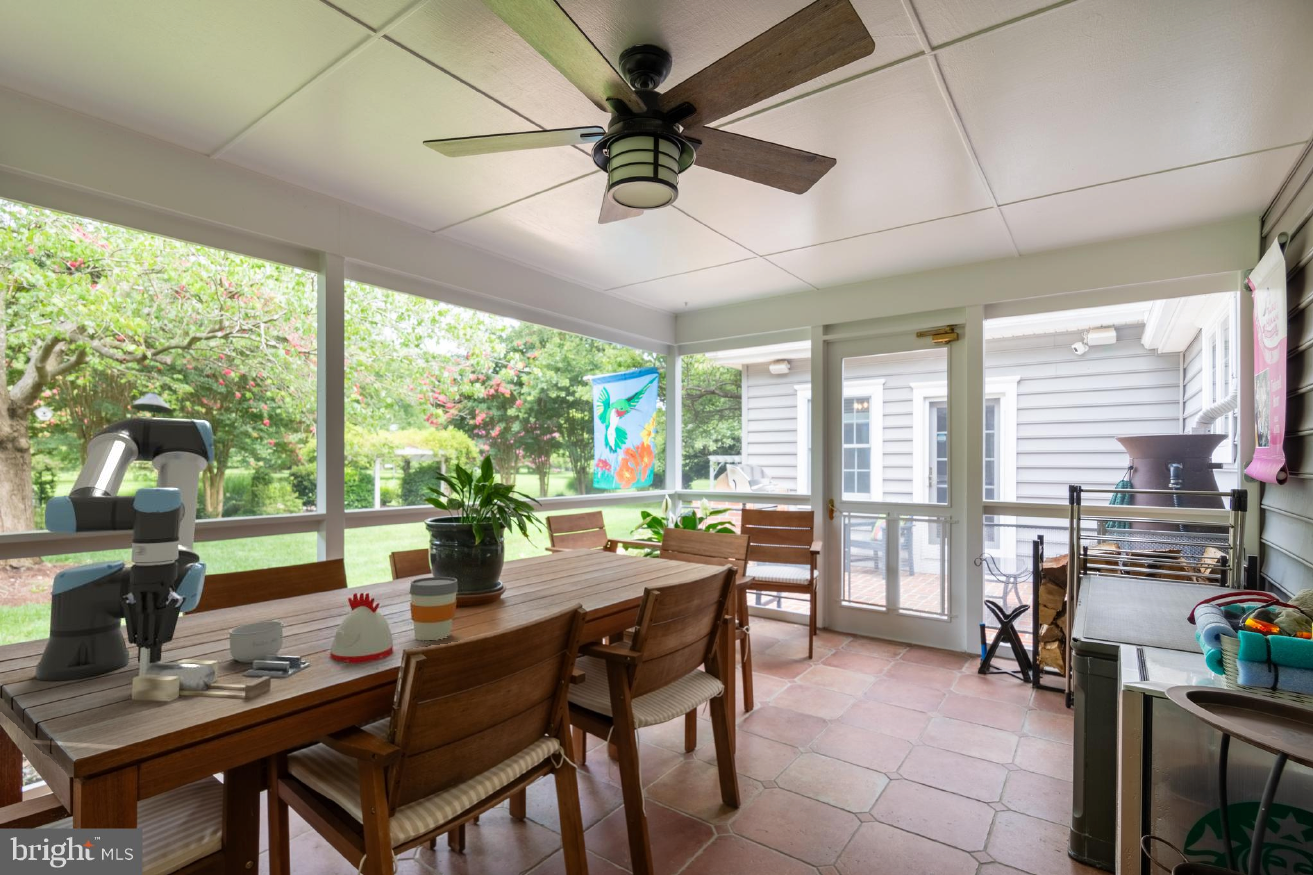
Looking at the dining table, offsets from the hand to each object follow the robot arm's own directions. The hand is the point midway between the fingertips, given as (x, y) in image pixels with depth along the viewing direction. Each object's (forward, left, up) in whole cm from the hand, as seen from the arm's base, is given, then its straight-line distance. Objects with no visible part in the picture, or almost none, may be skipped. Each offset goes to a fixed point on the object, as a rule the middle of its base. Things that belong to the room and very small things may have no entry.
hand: (148, 678), depth 123 cm
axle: (+7, 0, -2) cm, 7 cm away
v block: (+18, +13, -3) cm, 23 cm away
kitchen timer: (+29, +28, -3) cm, 41 cm away
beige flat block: (+13, 0, -3) cm, 13 cm away
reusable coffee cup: (+39, +45, -3) cm, 60 cm away
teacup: (+7, +22, -3) cm, 24 cm away
